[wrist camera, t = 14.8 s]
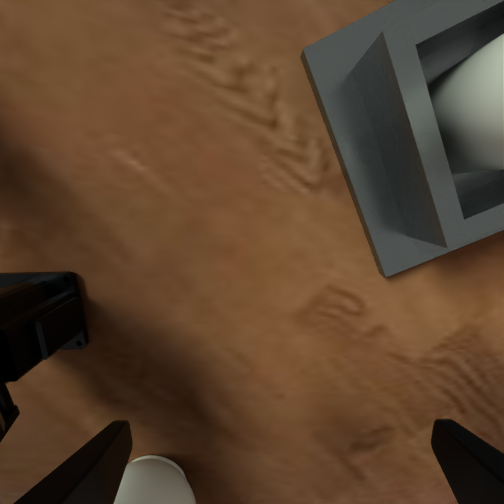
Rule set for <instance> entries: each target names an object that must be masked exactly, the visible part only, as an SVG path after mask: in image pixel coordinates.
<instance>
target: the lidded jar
mask: <svg viewBox="0 0 504 504" xmlns="http://www.w3.org/2000/svg"><path fill="white" fill-rule="evenodd" d="M114 504H196V500H195V497H194V494H193V491H192V489H191V487H190V485H189V483H188V481H187V480H186V476H185V474H184V472H183V470H182V469H181V468H180V467H179V466H178V464H176V463H175V462H174V461H172V460H170V459H168V458H165V457H162V456H157V455H146V456H141V457H138V458H136V459H134V460H133V461H131V462H130V463H128V464H127V466H126V469H125V472H124V475H123V478H122V481H121V484H120V487H119V490H118V493H117V496H116V498H115V501H114Z"/></svg>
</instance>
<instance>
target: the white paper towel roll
mask: <svg viewBox="0 0 504 504" xmlns="http://www.w3.org/2000/svg"><path fill="white" fill-rule="evenodd" d="M428 92H429V96H430V99H431V103H432V106H433V110H434V114H435V117H436V121H437V124H438V128H439V132H440V135H441V139H442V142H443V146H444V149H445V153H446V157H447V160H448V164H449V167H450V171H451V173H469V172H481V171H492V170H504V34H502V35H501V36H499V37H498V38H496V39H494V40H493V41H491V42H490V43H488V44H487V45H485V46H483V47H482V48H480V49H479V50H477V51H476V52H474V53H472V54H471V55H469V56H468V57H466V58H465V59H463V60H461V61H460V62H458V63H457V64H455V65H454V66H452V67H451V68H449V69H447V70H446V71H445V72H443V73H442V74H441V75H440V76H439V77H437V78H436V79H435V80H434V82H433V83H432V84H431V85H430V86H429V88H428Z"/></svg>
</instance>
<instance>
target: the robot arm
mask: <svg viewBox="0 0 504 504" xmlns="http://www.w3.org/2000/svg"><path fill="white" fill-rule="evenodd" d="M67 276H68V277H69V279H70V281H69V280H68V279H67ZM80 341H81V342H82V343H81V342H80ZM87 344H88V336H87V331H86V324H85V319H84V313H83V308H82V303H81V299H80V294H79V289H78V284H77V278H76V275H75V274H74V273H72V272H23V273H0V442H1V441H2V439H3V438H4V436H5V435H6V433H7V432H8V430H9V429H10V427H11V426H12V424H13V423H14V421H15V420H16V418H17V417H18V415H19V414H20V412H19V409H18V407H17V405H14V403H13V401H12V398H11V396H10V393H9V391H8V388H7V386H6V384H7V383H8V382H14V381H17V380H19V379H20V378H21V377H22V376H24V375H25V374H26V373H27V372H29V371H30V370H31V369H32V368H34V367H35V366H36V365H38V364H39V363H40V362H41V361H43V360H46V359H48V358H49V357H50V356H52V355H53V354H54V353H55V352H57V351H58V350H59V349H82V348H84V347H85V346H86V345H87ZM431 445H432V449H433V452H434V454H435V456H436V458H437V460H438V462H439V464H440V466H441V468H442V470H443V473H444V475H445V477H446V479H447V481H448V483H449V485H450V487H451V489H452V491H453V493H454V495H455V497H456V500H457V502H458V504H504V454H503V453H502V452H500V451H499V450H497V449H496V448H494V447H493V446H491V445H490V444H488V443H487V442H485V441H484V440H482V439H481V438H479V437H478V436H476V435H475V434H473V433H472V432H470V431H469V430H467V429H466V428H464V427H463V426H461V425H460V424H458V423H457V422H455V421H453V420H451V419H436V420H435V421H434V425H433V431H432V438H431ZM131 450H132V436H131V430H130V424H129V422H128V421H126V420H116V421H113V422H112V423H110V424H109V425H108V426H107V427H106V428H104V429H103V430H102V431H101V432H99V433H98V434H97V435H96V436H95V437H93V438H92V439H91V440H90V441H89V442H87V443H86V444H85V445H84V446H83V447H81V448H80V449H79V450H78V451H76V452H75V453H74V454H73V455H72V456H70V457H69V458H68V459H67V460H66V461H64V462H63V463H62V464H61V465H60V466H58V467H57V468H56V469H55V470H53V471H52V472H51V473H50V474H49V475H47V476H46V477H45V478H44V479H43V480H41V481H40V482H39V483H38V484H37V485H35V486H34V487H33V488H32V489H30V490H29V491H28V492H27V493H26V494H24V495H23V496H22V497H21V498H20V499H18V500H17V501H16V502H15V503H14V504H114V501H115V498H116V496H117V493H118V490H119V487H120V484H121V481H122V478H123V475H124V472H125V469H126V466H127V463H128V460H129V457H130V454H131Z"/></svg>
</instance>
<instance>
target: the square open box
mask: <svg viewBox="0 0 504 504" xmlns="http://www.w3.org/2000/svg"><path fill="white" fill-rule="evenodd" d="M502 34H504V0H395V1H393V2H391V3H389V4H387V5H386V6H384V7H382V8H380V9H378V10H376V11H374V12H372V13H370V14H368V15H367V16H365V17H363V18H361V19H359V20H357V21H355V22H353V23H351V24H349V25H348V26H346V27H344V28H342V29H340V30H338V31H336V32H334V33H332V34H330V35H329V36H327V37H325V38H323V39H321V40H319V41H317V42H315V43H313V44H311V45H310V46H308V47H306V48H304V49H303V51H302V54H301V60H302V63H303V65H304V68H305V71H306V73H307V76H308V79H309V82H310V84H311V87H312V90H313V93H314V95H315V98H316V101H317V103H318V106H319V109H320V112H321V114H322V117H323V120H324V123H325V125H326V128H327V131H328V133H329V136H330V139H331V142H332V144H333V147H334V150H335V153H336V155H337V158H338V161H339V164H340V166H341V169H342V172H343V174H344V177H345V180H346V183H347V185H348V188H349V191H350V194H351V196H352V199H353V202H354V204H355V207H356V210H357V213H358V215H359V218H360V221H361V224H362V226H363V229H364V232H365V234H366V237H367V240H368V243H369V245H370V248H371V251H372V254H373V256H374V259H375V262H376V264H377V267H378V270H379V273H380V274H382V275H383V276H385V277H388V276H391V275H393V274H396V273H398V272H401V271H403V270H406V269H408V268H411V267H413V266H416V265H418V264H421V263H423V262H426V261H428V260H431V259H433V258H435V257H438V256H440V255H443V254H445V253H448V252H450V251H453V250H455V249H458V248H460V247H463V246H465V245H468V244H470V243H473V242H475V241H478V240H480V239H483V238H485V237H487V236H490V235H492V234H495V233H497V232H500V231H502V230H504V170H492V171H481V172H469V173H451V171H450V167H449V164H448V160H447V157H446V153H445V149H444V146H443V142H442V139H441V135H440V132H439V128H438V124H437V121H436V117H435V114H434V110H433V106H432V103H431V99H430V96H429V92H428V88H429V86H430V85H431V84H432V83H433V82H434V80H435V79H436V78H437V77H439V76H440V75H441V74H442V73H443V72H445V71H446V70H447V69H449V68H451V67H452V66H454V65H455V64H457V63H458V62H460V61H461V60H463V59H465V58H466V57H468V56H469V55H471V54H472V53H474V52H476V51H477V50H479V49H480V48H482V47H483V46H485V45H487V44H488V43H490V42H491V41H493V40H494V39H496V38H498V37H499V36H501V35H502Z"/></svg>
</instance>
